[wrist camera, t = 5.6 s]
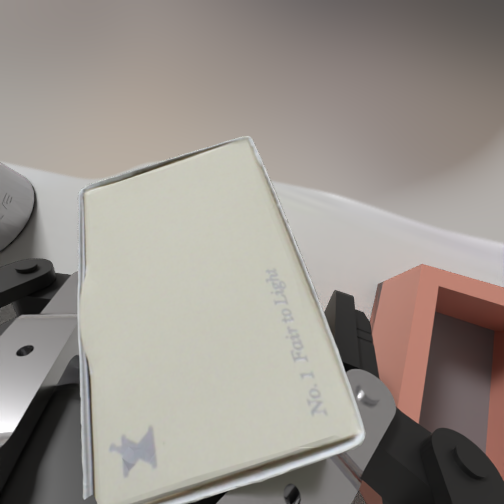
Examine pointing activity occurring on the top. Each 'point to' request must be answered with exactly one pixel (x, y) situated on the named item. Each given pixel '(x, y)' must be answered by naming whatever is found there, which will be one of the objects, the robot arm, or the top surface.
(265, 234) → the skincare box
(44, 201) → the top surface
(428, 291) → the bin
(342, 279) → the top surface
